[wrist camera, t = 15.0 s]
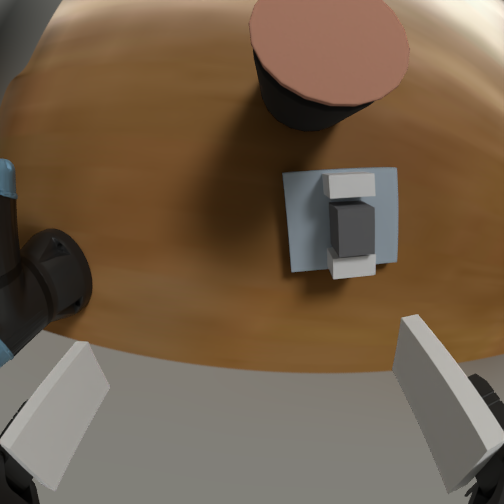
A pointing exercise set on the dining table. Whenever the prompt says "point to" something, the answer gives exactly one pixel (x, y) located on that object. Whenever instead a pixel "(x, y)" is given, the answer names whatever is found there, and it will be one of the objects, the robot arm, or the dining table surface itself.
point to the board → (318, 222)
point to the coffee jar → (325, 58)
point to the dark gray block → (352, 228)
